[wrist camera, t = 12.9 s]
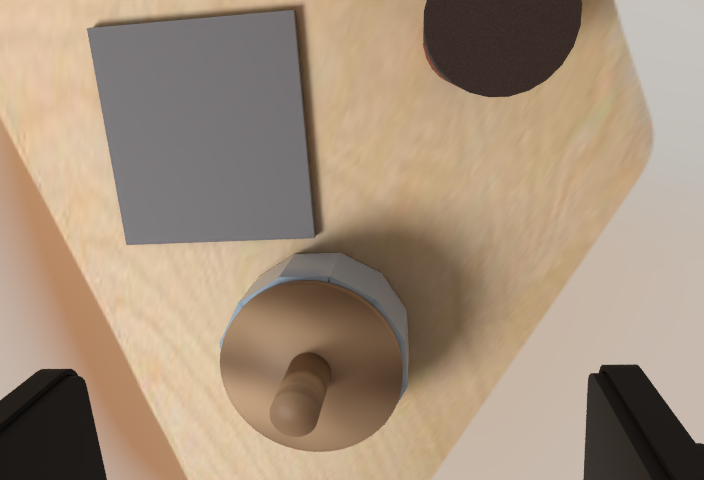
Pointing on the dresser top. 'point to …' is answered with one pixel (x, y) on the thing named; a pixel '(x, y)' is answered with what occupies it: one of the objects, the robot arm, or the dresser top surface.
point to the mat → (206, 128)
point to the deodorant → (499, 42)
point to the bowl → (344, 274)
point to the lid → (312, 365)
